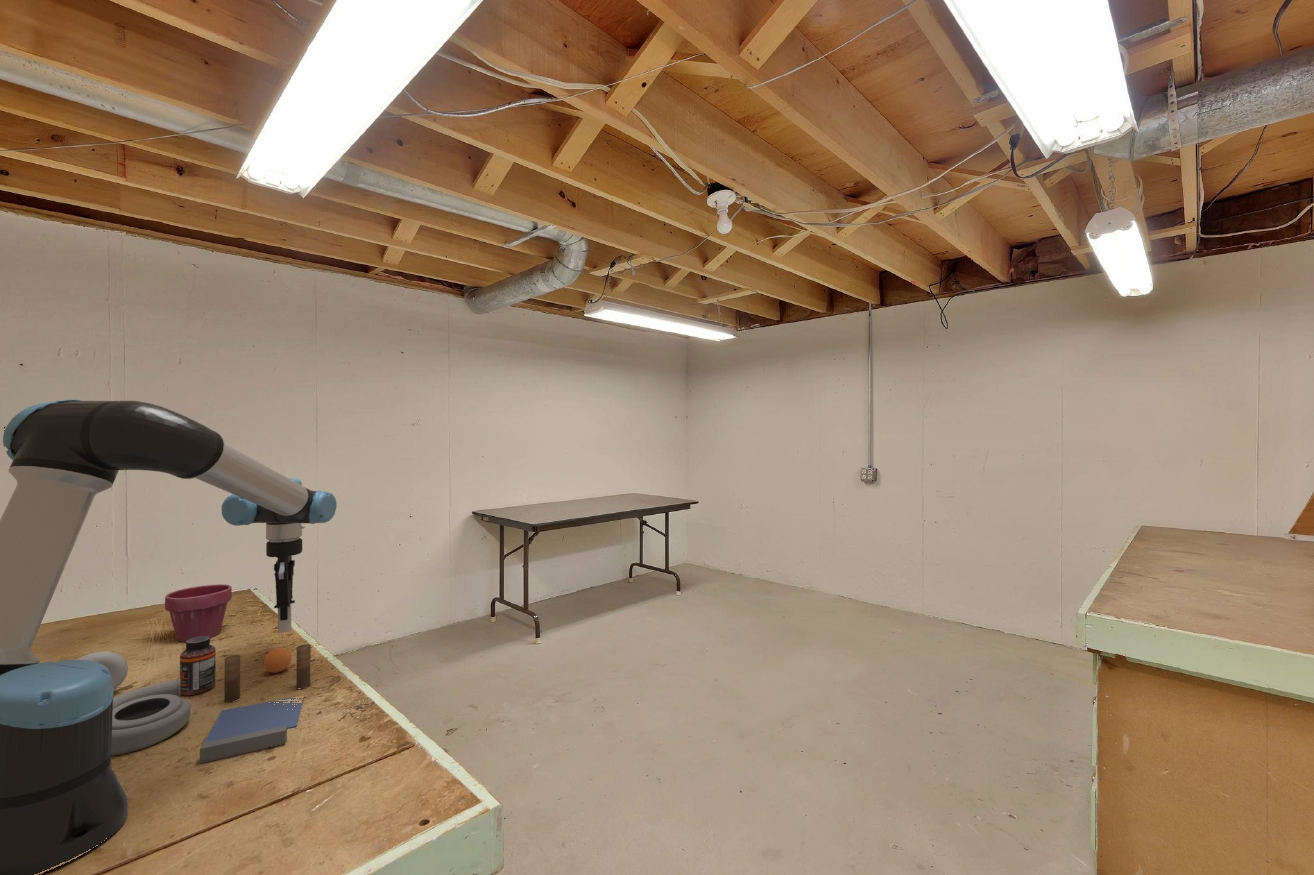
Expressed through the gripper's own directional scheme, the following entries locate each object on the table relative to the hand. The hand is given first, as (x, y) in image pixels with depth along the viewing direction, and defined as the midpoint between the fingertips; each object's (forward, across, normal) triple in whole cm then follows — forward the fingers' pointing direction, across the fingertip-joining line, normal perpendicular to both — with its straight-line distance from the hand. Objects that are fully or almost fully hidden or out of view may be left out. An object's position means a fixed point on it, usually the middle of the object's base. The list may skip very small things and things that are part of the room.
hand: (284, 631), depth 133 cm
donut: (+6, -8, +32) cm, 34 cm away
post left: (+6, -22, +6) cm, 24 cm away
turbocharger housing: (+7, -29, +19) cm, 36 cm away
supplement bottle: (+6, -13, +14) cm, 20 cm away
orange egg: (+4, -10, 0) cm, 10 cm away
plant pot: (+7, +28, +23) cm, 37 cm away
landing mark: (+6, -34, 0) cm, 34 cm away
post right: (+6, -22, -6) cm, 24 cm away
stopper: (+6, -46, 0) cm, 46 cm away
